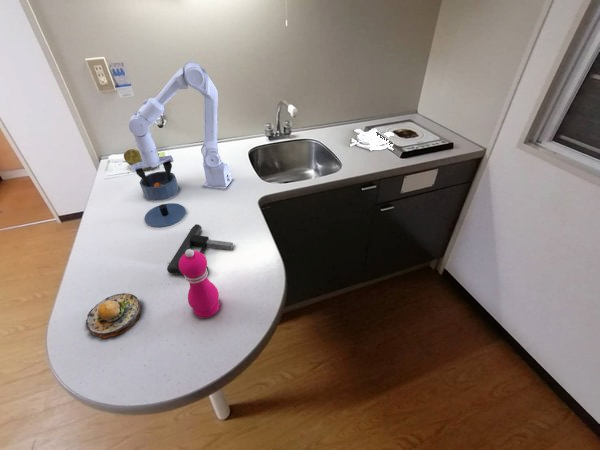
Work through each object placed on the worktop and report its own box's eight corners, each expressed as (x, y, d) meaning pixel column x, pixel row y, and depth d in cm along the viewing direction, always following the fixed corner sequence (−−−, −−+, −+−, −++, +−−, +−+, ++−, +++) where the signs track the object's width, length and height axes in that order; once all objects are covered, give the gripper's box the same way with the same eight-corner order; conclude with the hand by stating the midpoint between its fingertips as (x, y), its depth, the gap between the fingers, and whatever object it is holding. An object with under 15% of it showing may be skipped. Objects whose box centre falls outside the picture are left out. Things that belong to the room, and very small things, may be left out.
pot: (184, 186, 124) (181, 173, 120) (168, 203, 114) (163, 189, 110) (156, 183, 126) (152, 169, 122) (138, 199, 116) (132, 186, 112)
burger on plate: (147, 295, 81) (137, 276, 76) (133, 335, 71) (122, 316, 67) (99, 300, 80) (86, 280, 75) (79, 341, 70) (63, 322, 66)
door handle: (237, 228, 98) (189, 222, 99) (217, 275, 83) (160, 267, 84) (238, 236, 101) (191, 230, 101) (218, 283, 85) (163, 275, 86)
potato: (144, 175, 131) (137, 158, 126) (124, 168, 136) (118, 151, 131) (159, 167, 137) (154, 150, 132) (140, 160, 142) (134, 144, 137)
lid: (192, 207, 112) (190, 197, 109) (173, 231, 101) (169, 220, 99) (159, 203, 114) (155, 193, 111) (137, 226, 104) (132, 215, 101)
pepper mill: (195, 297, 80) (175, 240, 68) (223, 295, 81) (208, 238, 68) (189, 321, 74) (167, 263, 62) (219, 318, 75) (203, 261, 62)
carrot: (156, 189, 122) (150, 184, 120) (162, 184, 122) (157, 179, 120) (161, 198, 117) (155, 194, 114) (167, 193, 117) (162, 188, 115)
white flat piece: (348, 148, 151) (348, 146, 150) (354, 128, 172) (355, 125, 171) (393, 153, 146) (393, 150, 146) (393, 131, 168) (394, 129, 167)
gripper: (127, 159, 103) (141, 193, 112) (171, 149, 109) (180, 181, 118) (124, 151, 108) (137, 185, 116) (166, 142, 114) (175, 174, 122)
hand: (158, 182), depth 117 cm, fingers open, 7 cm apart
